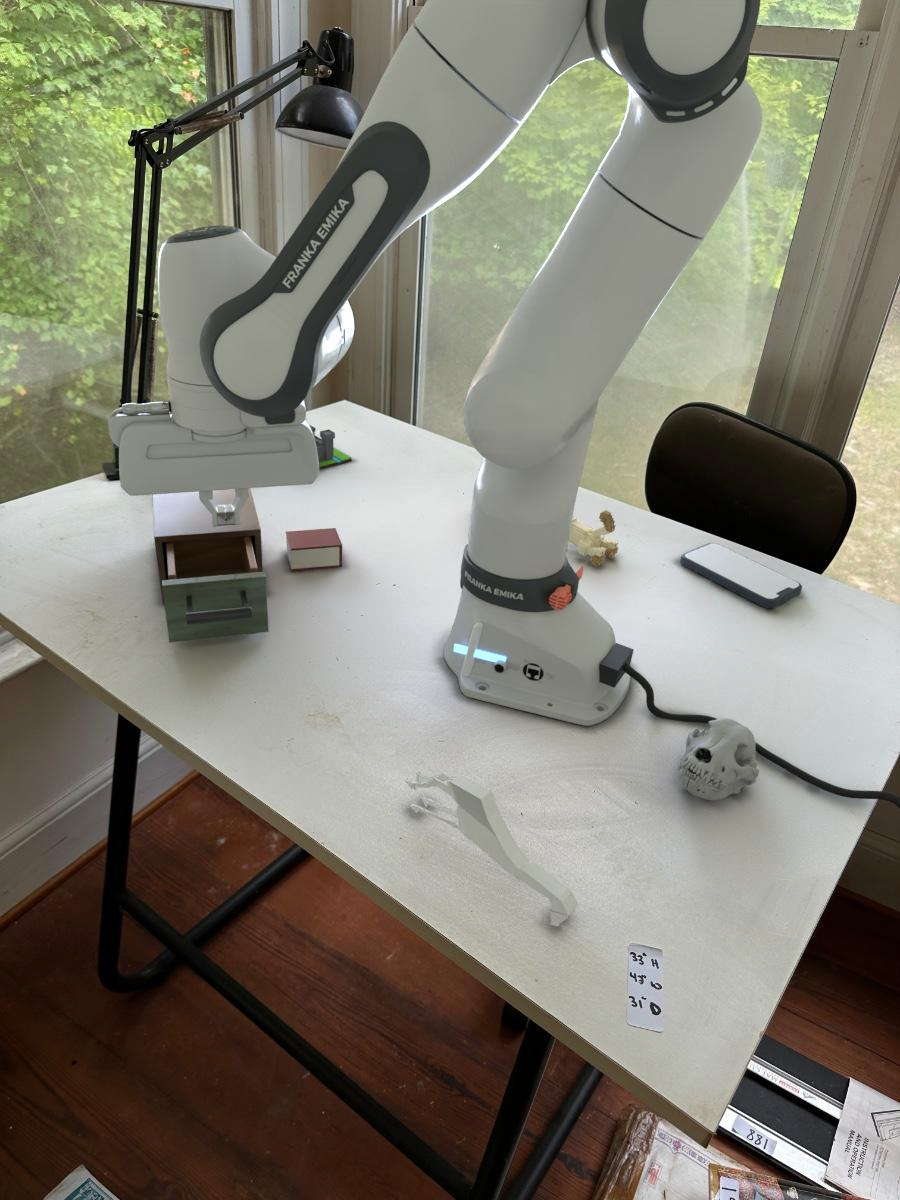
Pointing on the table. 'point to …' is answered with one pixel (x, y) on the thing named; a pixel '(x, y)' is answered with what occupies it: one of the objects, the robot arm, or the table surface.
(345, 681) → the table surface
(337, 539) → the book
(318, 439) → the castle model
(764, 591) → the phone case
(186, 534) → the cabinet
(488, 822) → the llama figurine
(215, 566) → the drawer
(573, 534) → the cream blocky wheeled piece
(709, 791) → the skull
